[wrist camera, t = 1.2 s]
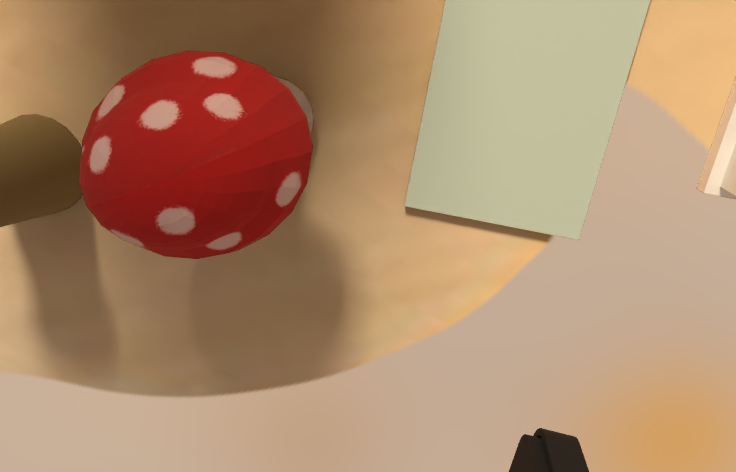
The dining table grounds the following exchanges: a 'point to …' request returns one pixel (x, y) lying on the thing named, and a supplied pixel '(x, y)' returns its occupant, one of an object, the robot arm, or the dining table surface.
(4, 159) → the cork
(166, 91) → the decorative mushroom
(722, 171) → the rack
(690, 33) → the dining table surface
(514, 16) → the mat
